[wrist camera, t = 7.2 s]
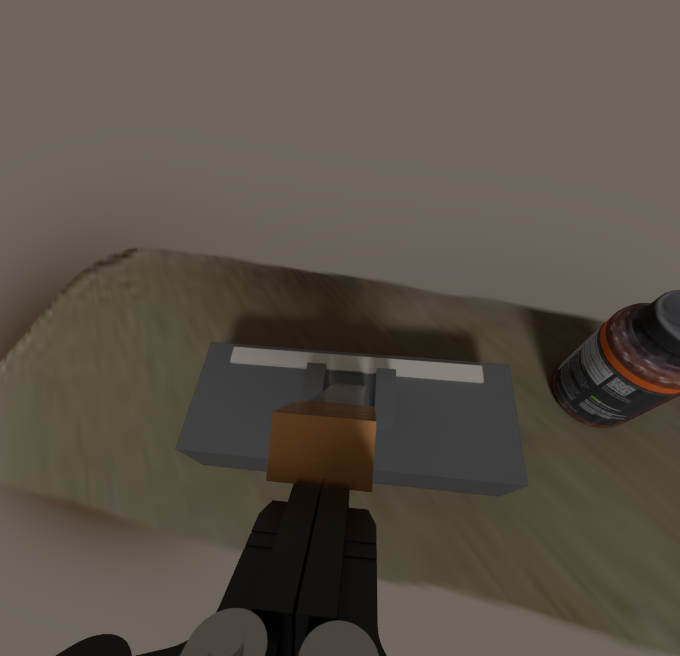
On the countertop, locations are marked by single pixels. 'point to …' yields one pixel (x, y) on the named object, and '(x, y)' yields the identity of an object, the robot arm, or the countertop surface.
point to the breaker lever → (324, 440)
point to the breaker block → (381, 392)
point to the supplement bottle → (624, 365)
